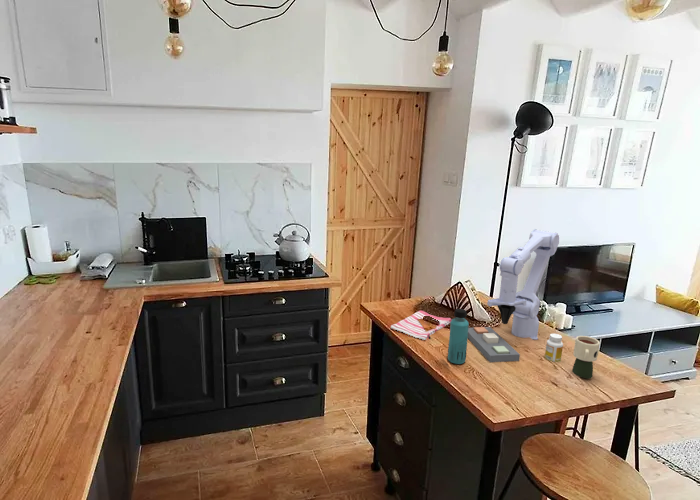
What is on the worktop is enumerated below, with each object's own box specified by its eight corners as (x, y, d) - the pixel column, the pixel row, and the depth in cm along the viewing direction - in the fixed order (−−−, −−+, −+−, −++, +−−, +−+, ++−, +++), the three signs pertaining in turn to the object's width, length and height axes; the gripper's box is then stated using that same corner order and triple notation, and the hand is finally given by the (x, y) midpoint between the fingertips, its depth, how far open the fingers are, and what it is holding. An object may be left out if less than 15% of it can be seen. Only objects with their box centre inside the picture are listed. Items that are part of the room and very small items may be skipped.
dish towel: (452, 325, 192) (453, 317, 191) (424, 342, 174) (425, 334, 173) (418, 315, 202) (418, 307, 201) (388, 330, 185) (389, 322, 184)
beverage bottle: (455, 369, 153) (460, 315, 148) (442, 361, 159) (447, 308, 154) (469, 365, 156) (474, 312, 151) (457, 357, 162) (461, 305, 157)
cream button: (492, 340, 171) (493, 332, 170) (497, 344, 167) (498, 337, 166) (482, 340, 171) (483, 333, 170) (487, 345, 166) (487, 337, 166)
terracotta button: (483, 333, 180) (483, 327, 179) (487, 338, 176) (488, 331, 175) (473, 334, 179) (473, 327, 178) (477, 338, 175) (478, 331, 174)
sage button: (502, 353, 163) (503, 345, 163) (508, 358, 159) (509, 351, 158) (491, 353, 163) (492, 346, 162) (497, 359, 159) (498, 351, 158)
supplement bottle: (559, 358, 163) (563, 333, 161) (561, 365, 158) (565, 339, 156) (543, 356, 165) (547, 331, 162) (544, 362, 160) (548, 337, 158)
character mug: (594, 385, 145) (600, 349, 142) (570, 380, 148) (575, 344, 145) (593, 370, 155) (599, 336, 152) (570, 366, 158) (575, 331, 155)
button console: (489, 335, 182) (490, 327, 181) (518, 363, 159) (519, 354, 158) (463, 335, 180) (464, 327, 179) (489, 364, 157) (490, 355, 156)
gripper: (494, 293, 162) (491, 327, 165) (532, 292, 164) (527, 326, 167) (486, 286, 169) (483, 320, 172) (522, 286, 171) (518, 319, 174)
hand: (504, 323), depth 170 cm, fingers closed
